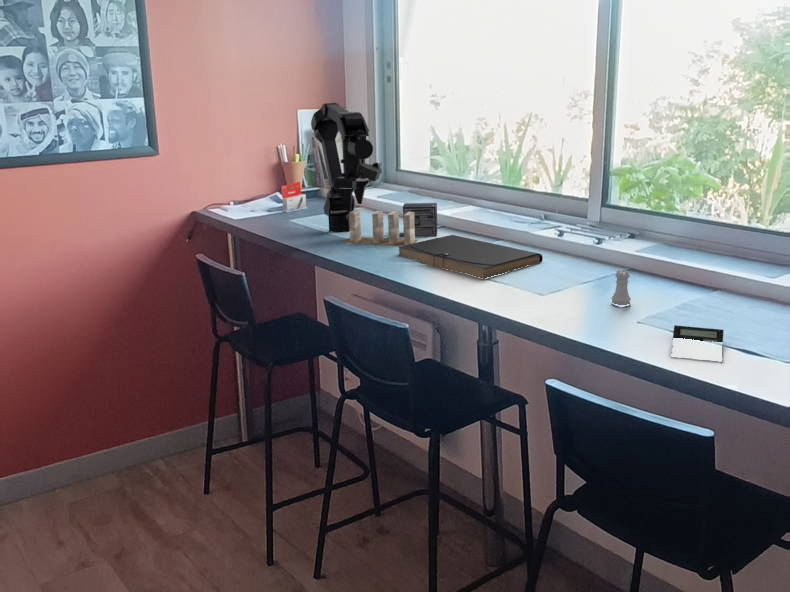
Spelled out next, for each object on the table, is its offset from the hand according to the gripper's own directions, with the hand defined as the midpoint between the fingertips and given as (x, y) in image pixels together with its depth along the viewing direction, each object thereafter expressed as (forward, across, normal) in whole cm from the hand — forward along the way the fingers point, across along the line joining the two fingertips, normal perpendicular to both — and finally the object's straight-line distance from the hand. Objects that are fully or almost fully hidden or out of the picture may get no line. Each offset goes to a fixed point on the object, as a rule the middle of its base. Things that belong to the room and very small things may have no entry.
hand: (354, 206), depth 248 cm
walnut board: (+11, 0, -8) cm, 14 cm away
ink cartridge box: (+11, +44, +41) cm, 61 cm away
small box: (+12, +12, -17) cm, 24 cm away
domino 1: (+10, 0, 0) cm, 10 cm away
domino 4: (+10, 0, -17) cm, 20 cm away
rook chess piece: (+12, -43, -82) cm, 93 cm away
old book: (+12, -12, -39) cm, 42 cm away
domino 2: (+10, 0, -7) cm, 13 cm away
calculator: (+13, -68, -98) cm, 120 cm away
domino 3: (+10, 0, -12) cm, 16 cm away
